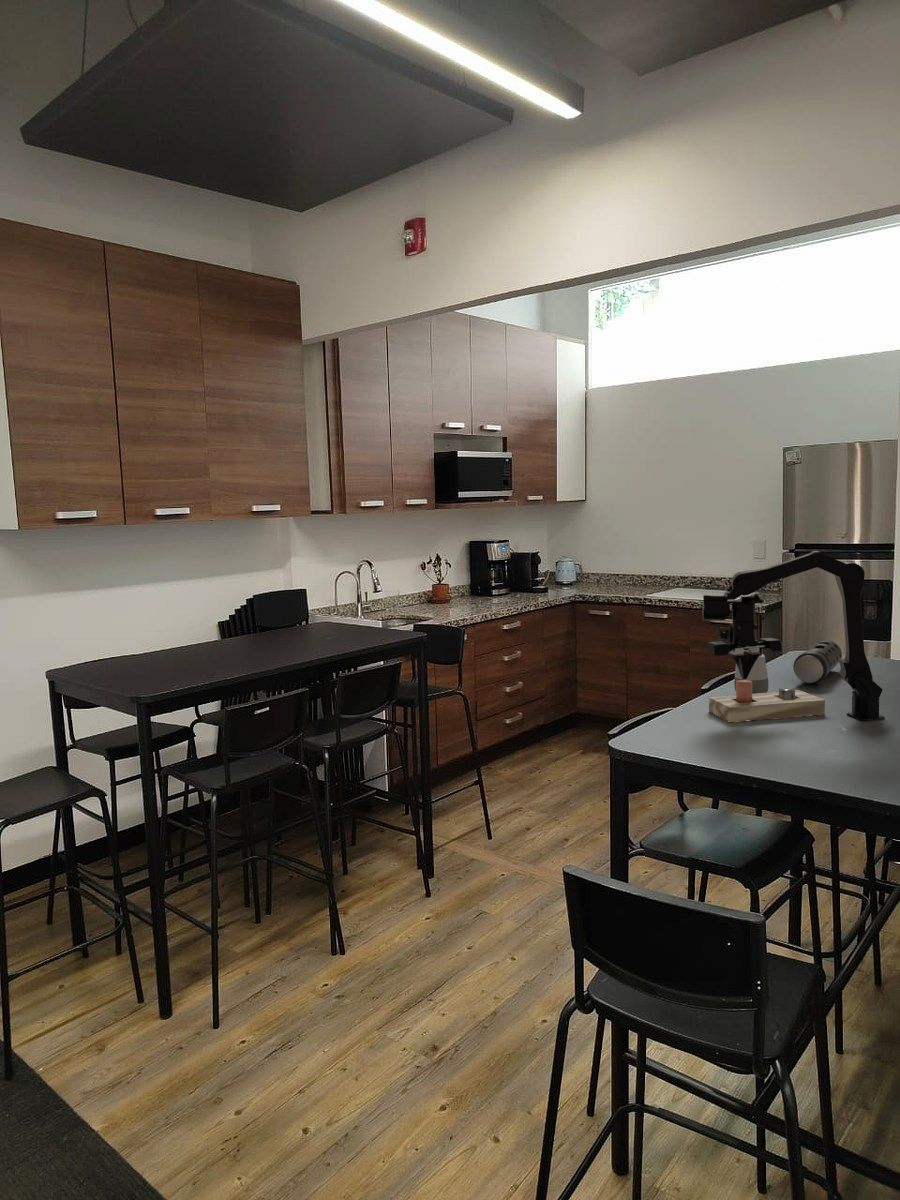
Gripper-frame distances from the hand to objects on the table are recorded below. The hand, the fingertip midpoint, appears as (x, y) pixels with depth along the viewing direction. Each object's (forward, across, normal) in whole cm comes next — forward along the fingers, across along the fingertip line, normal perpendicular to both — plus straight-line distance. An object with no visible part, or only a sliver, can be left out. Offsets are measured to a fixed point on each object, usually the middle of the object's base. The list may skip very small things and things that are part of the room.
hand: (744, 679), depth 213 cm
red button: (+6, 0, 0) cm, 6 cm away
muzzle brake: (+10, -42, -34) cm, 55 cm away
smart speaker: (+10, -12, -19) cm, 25 cm away
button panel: (+10, -6, 0) cm, 11 cm away
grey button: (+9, -12, 0) cm, 15 cm away
